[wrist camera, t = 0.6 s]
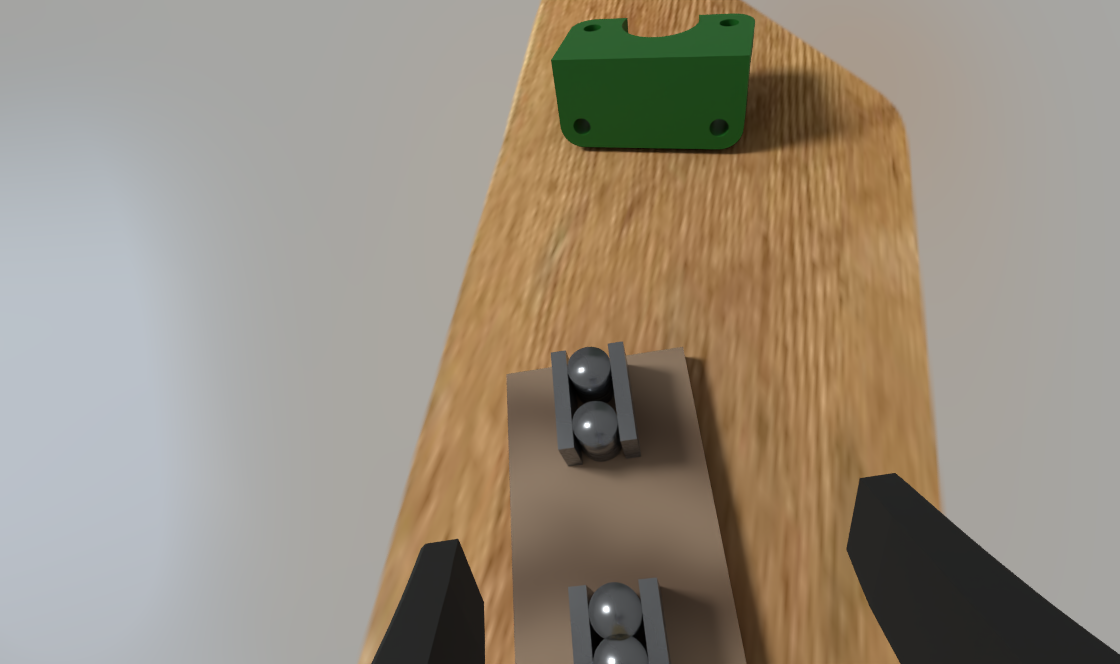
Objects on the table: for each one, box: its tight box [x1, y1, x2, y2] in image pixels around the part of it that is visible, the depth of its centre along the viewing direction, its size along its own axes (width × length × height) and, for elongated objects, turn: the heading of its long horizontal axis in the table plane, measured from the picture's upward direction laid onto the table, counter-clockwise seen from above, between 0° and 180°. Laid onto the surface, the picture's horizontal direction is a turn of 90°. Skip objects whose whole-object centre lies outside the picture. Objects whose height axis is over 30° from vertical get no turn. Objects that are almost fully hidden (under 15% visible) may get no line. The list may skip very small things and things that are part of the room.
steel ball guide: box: [551, 341, 671, 664], centre depth 26 cm, size 14×3×2 cm, turn 4°
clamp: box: [551, 14, 755, 149], centre depth 38 cm, size 12×6×9 cm, turn 71°
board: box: [507, 347, 746, 664], centre depth 25 cm, size 22×9×1 cm, turn 4°
